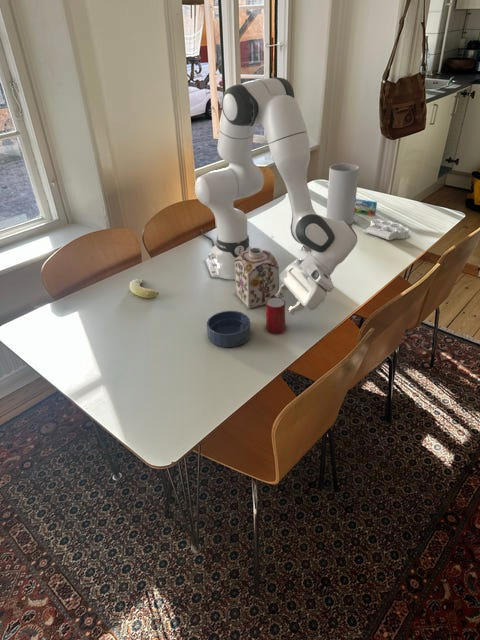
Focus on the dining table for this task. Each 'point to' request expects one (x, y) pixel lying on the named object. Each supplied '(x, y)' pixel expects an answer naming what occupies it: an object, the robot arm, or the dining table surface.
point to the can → (275, 315)
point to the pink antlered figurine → (306, 248)
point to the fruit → (142, 289)
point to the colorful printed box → (365, 207)
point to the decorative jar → (256, 277)
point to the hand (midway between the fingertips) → (283, 305)
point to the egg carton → (387, 229)
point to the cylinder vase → (342, 192)
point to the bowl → (228, 328)
